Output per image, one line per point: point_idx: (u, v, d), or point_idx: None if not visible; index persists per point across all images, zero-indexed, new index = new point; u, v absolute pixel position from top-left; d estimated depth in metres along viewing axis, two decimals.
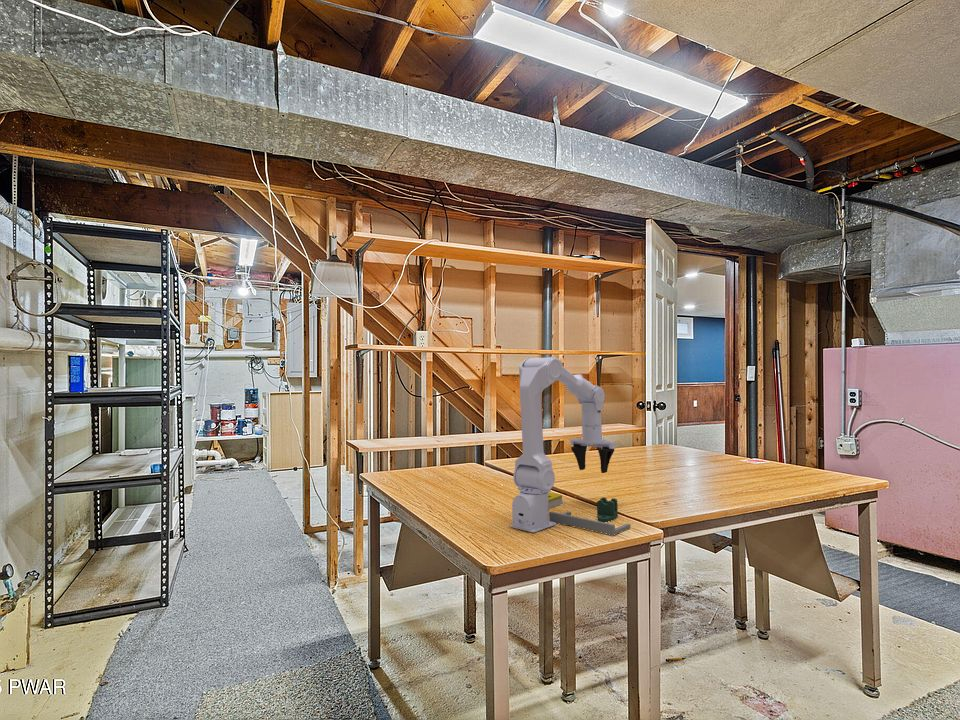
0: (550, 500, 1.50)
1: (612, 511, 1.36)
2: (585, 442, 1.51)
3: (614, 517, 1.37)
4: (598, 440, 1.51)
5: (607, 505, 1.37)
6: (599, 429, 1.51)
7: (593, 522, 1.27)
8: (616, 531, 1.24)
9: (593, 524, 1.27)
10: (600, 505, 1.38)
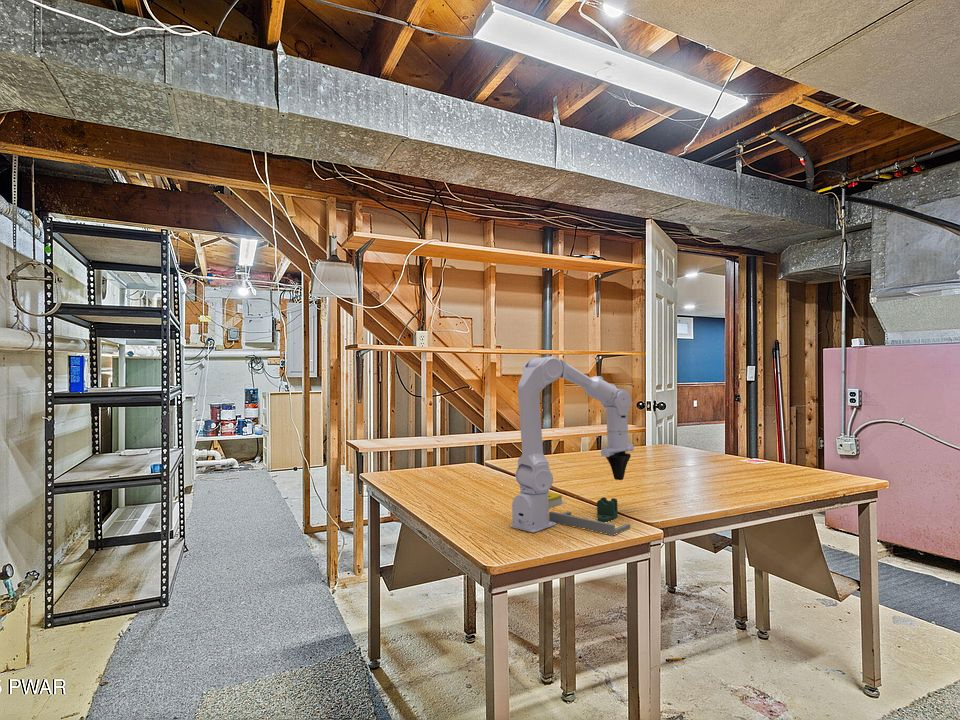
0: (548, 500, 1.50)
1: (612, 511, 1.36)
2: None
3: (614, 517, 1.37)
4: (610, 446, 1.43)
5: (607, 505, 1.37)
6: (611, 435, 1.43)
7: (593, 522, 1.27)
8: (616, 531, 1.24)
9: (593, 524, 1.27)
10: (600, 505, 1.38)
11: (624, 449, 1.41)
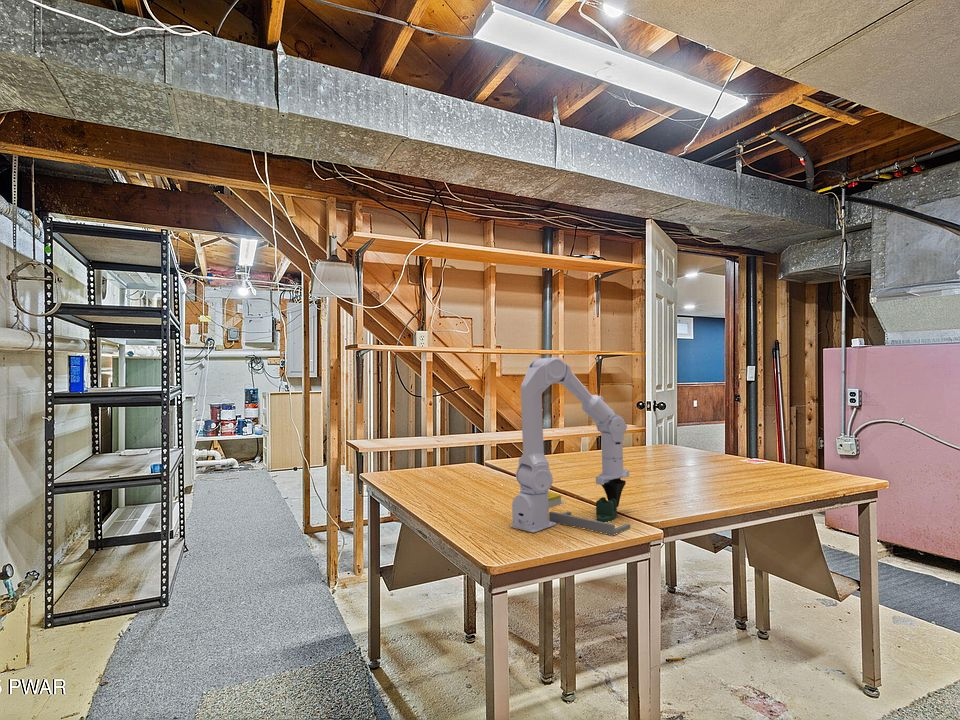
0: None
1: (611, 511, 1.36)
2: None
3: (613, 517, 1.37)
4: (604, 473, 1.41)
5: (606, 505, 1.37)
6: (606, 462, 1.40)
7: (593, 522, 1.27)
8: (616, 531, 1.24)
9: (593, 524, 1.27)
10: (599, 505, 1.38)
11: (619, 476, 1.39)
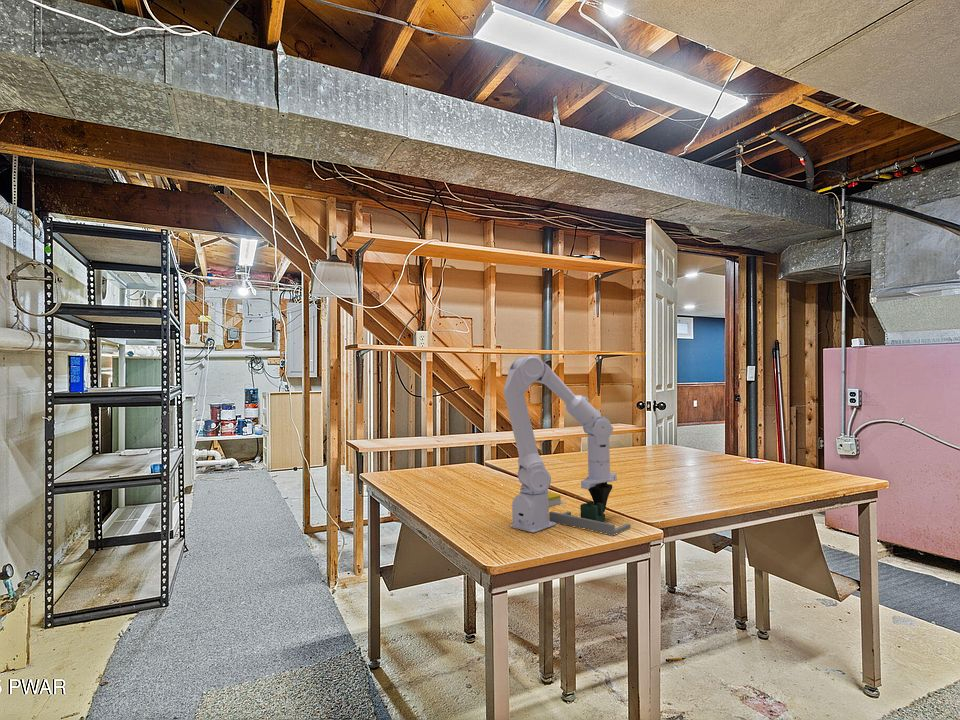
0: None
1: (594, 516, 1.32)
2: None
3: None
4: (590, 477, 1.36)
5: (590, 509, 1.32)
6: (592, 465, 1.35)
7: (593, 522, 1.27)
8: (616, 531, 1.24)
9: (593, 524, 1.27)
10: (583, 509, 1.34)
11: (605, 480, 1.34)
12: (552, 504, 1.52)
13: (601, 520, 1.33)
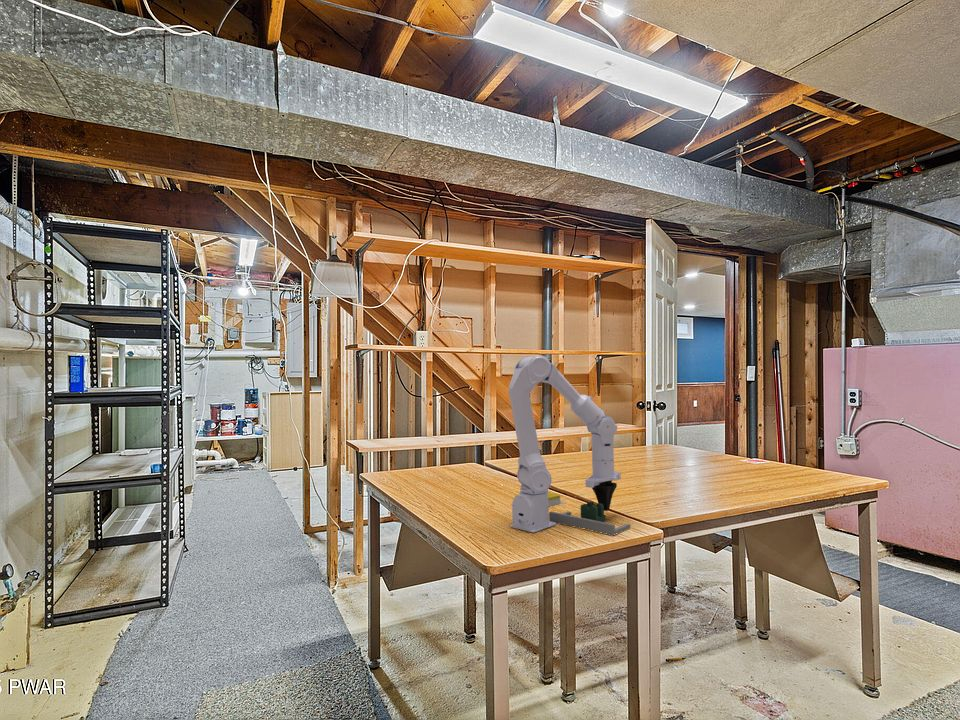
0: None
1: (594, 516, 1.32)
2: None
3: None
4: (595, 476, 1.37)
5: (590, 510, 1.32)
6: (596, 464, 1.37)
7: (593, 522, 1.27)
8: (616, 531, 1.24)
9: (593, 524, 1.27)
10: (583, 509, 1.34)
11: (610, 479, 1.35)
12: (551, 504, 1.52)
13: (601, 521, 1.33)
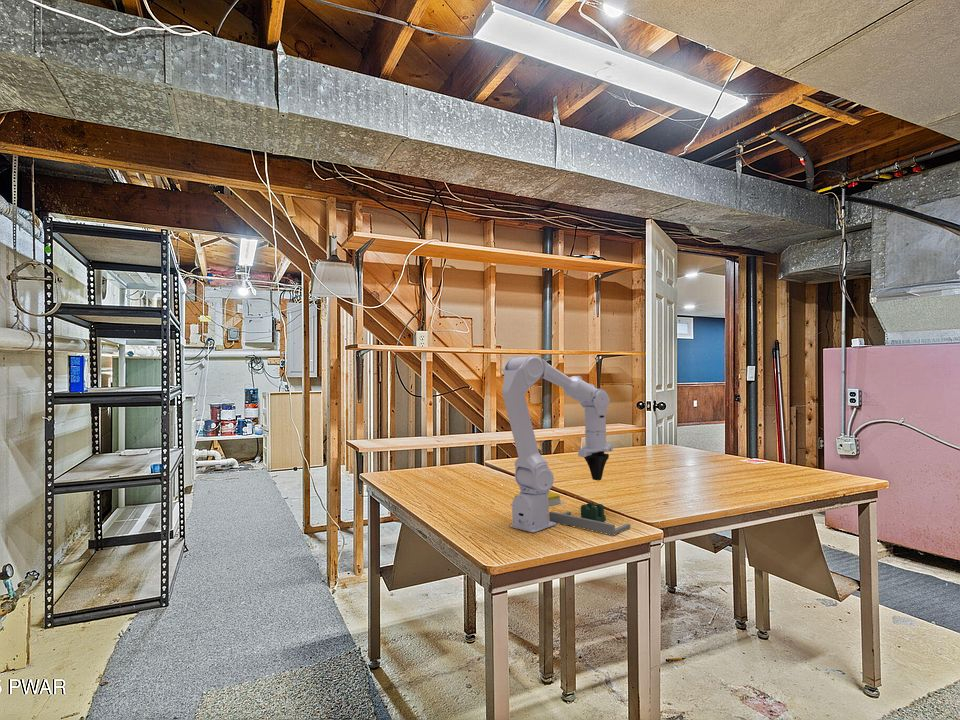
0: None
1: (594, 517, 1.32)
2: None
3: None
4: (587, 446, 1.42)
5: (590, 510, 1.32)
6: (589, 435, 1.42)
7: (593, 522, 1.27)
8: (616, 531, 1.24)
9: (593, 524, 1.27)
10: (583, 510, 1.34)
11: (602, 449, 1.41)
12: (550, 504, 1.52)
13: (601, 521, 1.33)
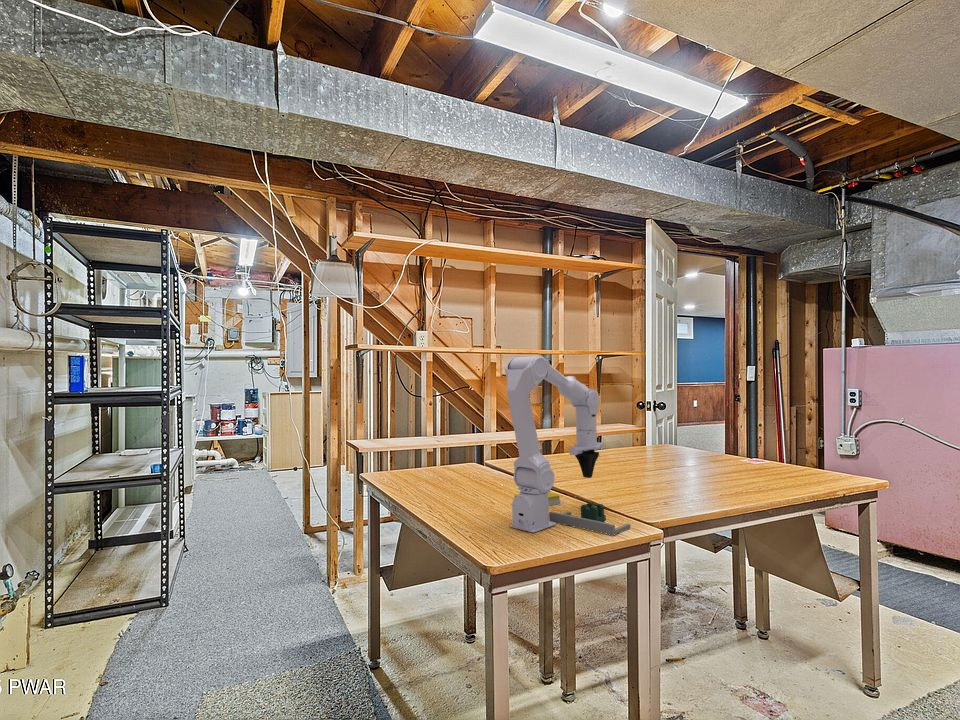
0: None
1: (594, 517, 1.32)
2: None
3: None
4: (578, 445, 1.46)
5: (590, 510, 1.32)
6: (580, 434, 1.46)
7: (593, 522, 1.27)
8: (616, 531, 1.24)
9: (593, 524, 1.27)
10: (583, 510, 1.34)
11: (592, 447, 1.45)
12: (550, 504, 1.52)
13: (601, 521, 1.33)
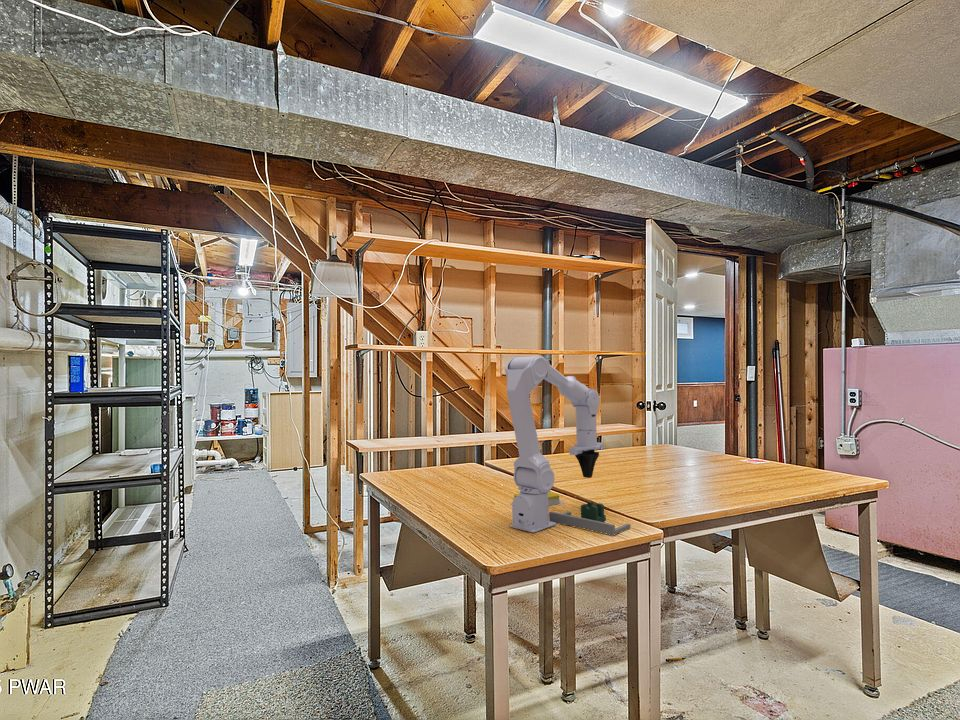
0: None
1: (594, 516, 1.32)
2: None
3: None
4: (578, 445, 1.46)
5: (590, 510, 1.32)
6: (580, 434, 1.46)
7: (593, 522, 1.27)
8: (616, 531, 1.24)
9: (593, 524, 1.27)
10: (583, 509, 1.34)
11: (592, 447, 1.45)
12: (549, 504, 1.52)
13: (601, 521, 1.33)
